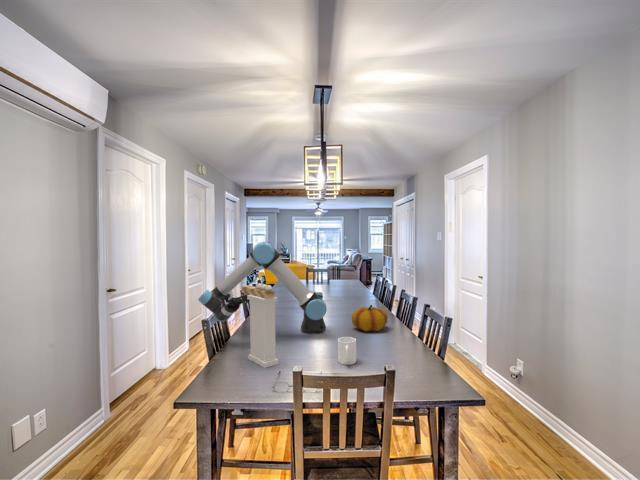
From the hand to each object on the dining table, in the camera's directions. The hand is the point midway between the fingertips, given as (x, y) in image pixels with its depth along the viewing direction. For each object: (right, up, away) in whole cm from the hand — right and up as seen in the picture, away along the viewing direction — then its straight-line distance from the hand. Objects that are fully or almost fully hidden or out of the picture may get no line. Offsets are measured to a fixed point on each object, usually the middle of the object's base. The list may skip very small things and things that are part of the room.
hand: (246, 290), depth 170 cm
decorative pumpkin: (+66, -30, +41) cm, 83 cm away
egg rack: (+6, -1, -7) cm, 10 cm away
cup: (+48, -31, -14) cm, 59 cm away
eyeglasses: (+27, -32, -32) cm, 53 cm away
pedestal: (+10, -31, -10) cm, 34 cm away
